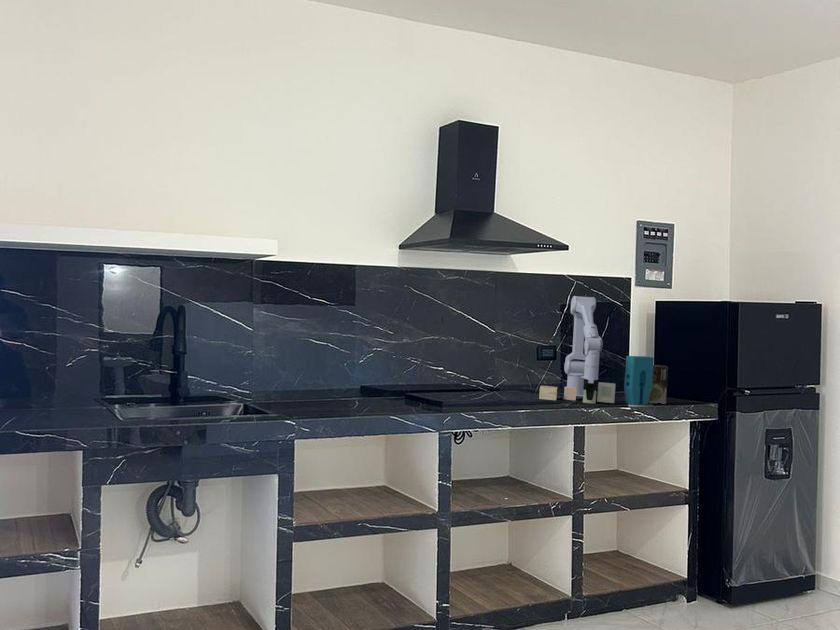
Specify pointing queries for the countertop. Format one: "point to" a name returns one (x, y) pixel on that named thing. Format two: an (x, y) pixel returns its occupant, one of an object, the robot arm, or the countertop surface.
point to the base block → (548, 393)
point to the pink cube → (570, 393)
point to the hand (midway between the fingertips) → (589, 399)
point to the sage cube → (589, 400)
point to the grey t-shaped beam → (606, 392)
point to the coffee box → (659, 385)
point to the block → (638, 379)
